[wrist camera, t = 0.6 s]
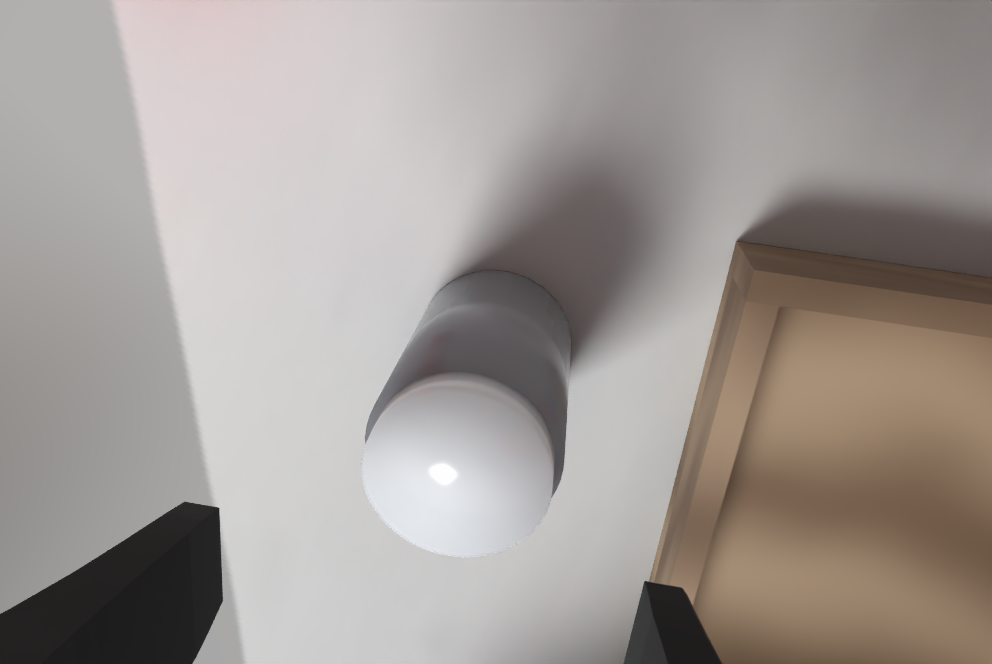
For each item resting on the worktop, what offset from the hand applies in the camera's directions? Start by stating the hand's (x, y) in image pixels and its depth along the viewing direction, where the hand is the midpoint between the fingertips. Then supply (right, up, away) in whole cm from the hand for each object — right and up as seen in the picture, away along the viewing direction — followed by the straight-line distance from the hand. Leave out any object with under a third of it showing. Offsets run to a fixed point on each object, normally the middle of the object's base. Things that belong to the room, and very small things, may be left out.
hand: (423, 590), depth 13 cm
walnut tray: (+15, -2, +10) cm, 18 cm away
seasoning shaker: (+1, +4, +9) cm, 10 cm away
